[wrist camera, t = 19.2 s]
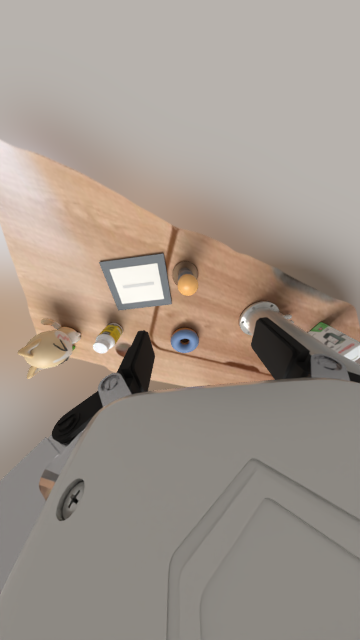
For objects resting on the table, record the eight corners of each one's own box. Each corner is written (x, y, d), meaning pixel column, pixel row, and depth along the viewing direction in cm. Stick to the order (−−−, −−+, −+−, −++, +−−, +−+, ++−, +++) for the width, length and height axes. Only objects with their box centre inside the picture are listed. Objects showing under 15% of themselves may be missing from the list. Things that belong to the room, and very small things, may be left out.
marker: (192, 266, 34) (197, 274, 24) (193, 281, 36) (198, 294, 27) (176, 268, 34) (176, 276, 25) (178, 283, 36) (179, 296, 27)
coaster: (196, 259, 34) (197, 259, 33) (198, 285, 37) (198, 286, 37) (170, 263, 34) (170, 263, 34) (174, 288, 38) (174, 289, 37)
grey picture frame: (163, 253, 33) (163, 253, 32) (171, 303, 40) (171, 304, 39) (100, 262, 34) (98, 262, 33) (119, 309, 41) (118, 310, 40)
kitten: (86, 351, 50) (54, 389, 37) (58, 345, 48) (13, 382, 35) (86, 320, 43) (46, 353, 30) (52, 311, 41) (-6, 342, 28)
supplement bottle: (118, 321, 43) (104, 339, 34) (125, 333, 45) (113, 353, 37) (104, 323, 43) (86, 342, 35) (111, 336, 46) (96, 356, 37)
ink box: (320, 321, 44) (363, 343, 34) (329, 326, 45) (374, 349, 35) (299, 339, 48) (332, 364, 38) (308, 343, 49) (343, 368, 39)
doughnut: (186, 352, 50) (187, 360, 46) (165, 339, 47) (164, 346, 43) (203, 334, 47) (205, 341, 43) (182, 320, 45) (182, 325, 40)
